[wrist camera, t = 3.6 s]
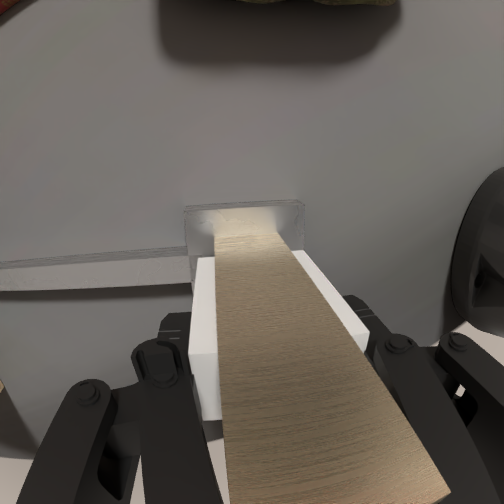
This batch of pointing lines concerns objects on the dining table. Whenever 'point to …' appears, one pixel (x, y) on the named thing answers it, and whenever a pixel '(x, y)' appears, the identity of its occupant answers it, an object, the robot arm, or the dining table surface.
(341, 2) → the decorative rock
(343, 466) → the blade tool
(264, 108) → the dining table surface
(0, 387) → the cabinet
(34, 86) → the dining table surface
